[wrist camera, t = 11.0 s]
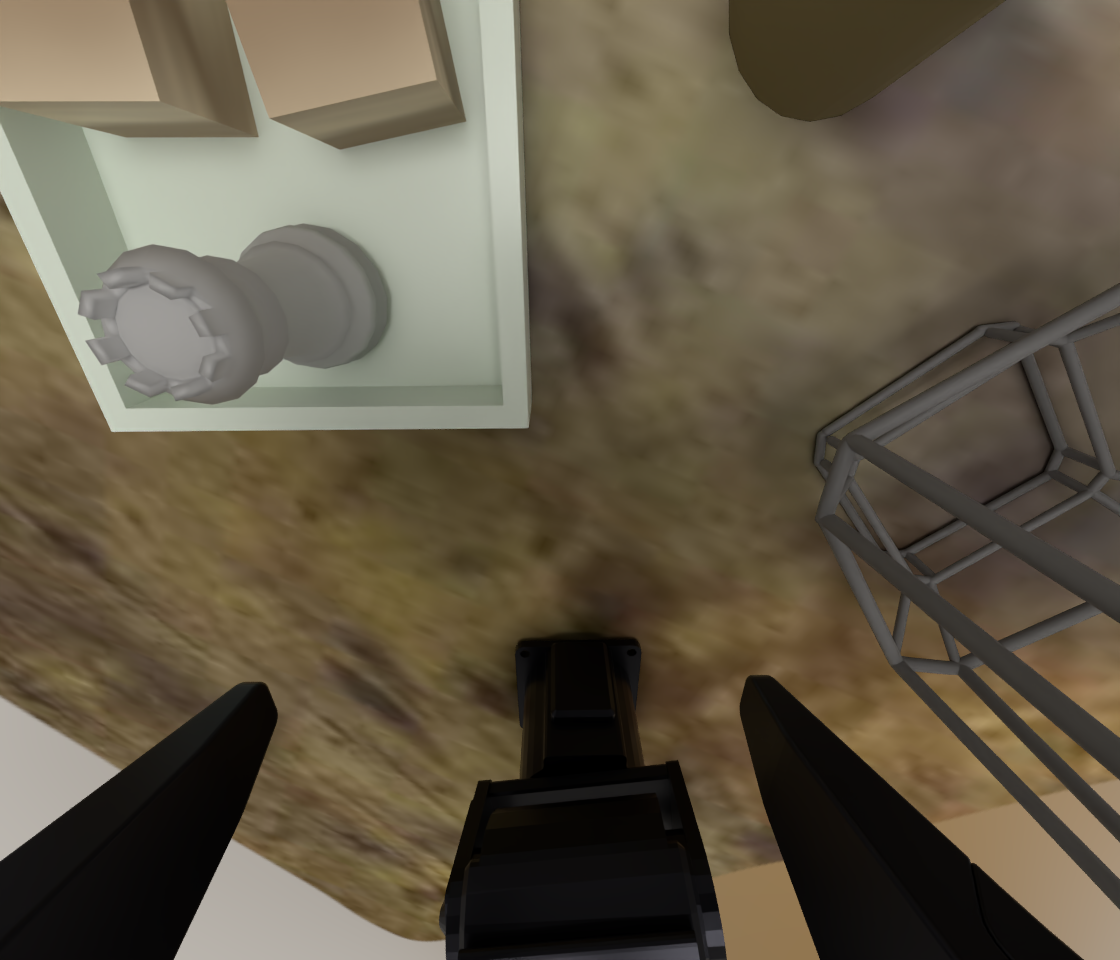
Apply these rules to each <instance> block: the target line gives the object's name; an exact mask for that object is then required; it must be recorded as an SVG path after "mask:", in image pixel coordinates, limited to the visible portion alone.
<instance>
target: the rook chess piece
mask: <svg viewBox="0 0 1120 960" xmlns="http://www.w3.org/2000/svg"><path fill="white" fill-rule="evenodd" d="M97 275H98V276H99V278H100V279H101V280H102V281H103V286H102V289H94V290H84V291H81V297H80V303H79V309H78V315H81V316H84V317H87V318H90V319H93V320H98V319H101V323H102V327H103V330H104V334H105V337H100V338H95V339H90V340H86V341H85V342H86V343H87V344H88V346H89V347H90V349H91V350H92V352H93V353H94V355H95V356H96V358H97V359H98V361H99V362H100V364H101V365H105V364H108V363H112V362H116V361H120V360H121V361H122V362H123V363H124V364H125V365H126V366H128V367H129V368H130V369H131V370H132V371H133V372H134V374H131V375H130V376H129V378H128V379H127V381H126V383H125V386H127V387H129V388H131V389H133V390H135V391H138V392H140V393H142V394H144V395H146V396H148V397H150V398H151V397H153V396H156V395H158V394H161V393H164V392H167V393H169V394H171V395H173V396H174V399H175V401H179V400H184V401H191V402H197V403H204V404H211V405H214V404H218V403H222V402H226V401H231V400H235V399H238V398H240V397H241V396H242V395H243V394H244V393H245V392H246V391H248V390H249V389H250V388H251V387H252V386H253V385H254V384H256V383H257V380H258V377H259V375H263V374H267V373H269V372H270V371H271V370H272V369H273V368H274V367H275V366H277V365H278V364H279V363H280V362H281V361H282V360H283V359H285V360H288V361H290V362H292V363H294V364H296V365H303V366H309V367H315V368H323V369H327V368H331V367H335V366H339V365H343V364H347V363H350V362H351V361H355V360H359V359H361V358H362V357H363V356H364V355H366V354H367V353H368V352H369V351H370V350H372V349H373V348H374V347H375V346H376V345H377V344H378V342H379V340H380V337H381V335H382V333H383V331H384V328H385V326H386V324H387V295H386V293H385V290H384V287H383V284H382V282H381V279H380V276H379V274H378V271H377V269H376V267H375V266H374V265H373V264H372V262H371V261H370V260H369V259H368V258H367V256H366V255H365V254H364V253H363V251H362V250H361V249H360V248H359V246H358V245H357V244H355V243H354V242H352V241H350V240H349V239H347V238H345V237H344V236H342V235H341V234H339V233H337V232H336V231H334V230H333V229H331V228H326V227H320V226H315V225H310V224H304V223H302V224H298V225H286V226H283V227H279V228H276V229H272V230H268V231H265V232H263V233H261V234H260V235H258V236H257V237H256V238H255V239H254V240H253V241H252V242H251V243H250V244H249V245H248V246H247V247H246V248H245V249H244V250H243V251H242V252H241V255H240V258H239V260H238V261H237V262H235V261H234V260H231V259H226V258H220V257H214V256H209V255H206V256H202V257H198V256H196V255H194V254H193V253H191V252H189V251H187V250H183V249H177V248H172V247H166V246H160V245H155V244H151V245H147V246H144V247H140V248H136V249H133V250H129V251H126V252H123V253H122V254H121V255H120V256H119V257H118V259H117V260H116V261H115V262H114V263H113V264H112V265H111V266H110V267H109V269H108V270H107V271H106V272H102V273H98V274H97Z"/></svg>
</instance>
